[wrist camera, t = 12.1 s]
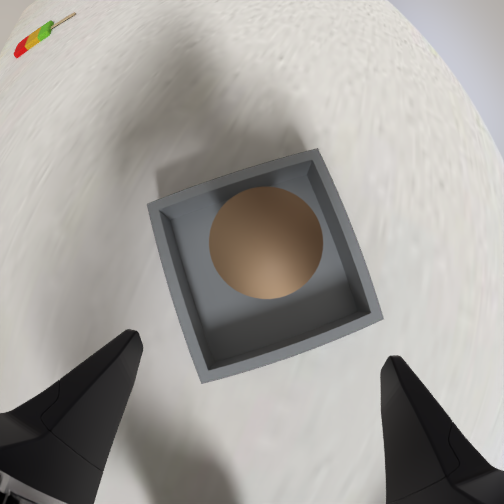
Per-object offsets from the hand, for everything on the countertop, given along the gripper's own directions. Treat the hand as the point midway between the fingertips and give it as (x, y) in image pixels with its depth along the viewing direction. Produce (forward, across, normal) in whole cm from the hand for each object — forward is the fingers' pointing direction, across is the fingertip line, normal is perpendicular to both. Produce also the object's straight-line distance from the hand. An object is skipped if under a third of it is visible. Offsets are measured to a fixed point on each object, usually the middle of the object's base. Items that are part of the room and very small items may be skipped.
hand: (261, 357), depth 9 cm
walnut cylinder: (+12, +1, +5) cm, 13 cm away
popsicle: (+38, +47, -27) cm, 66 cm away
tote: (+13, +1, +5) cm, 14 cm away
